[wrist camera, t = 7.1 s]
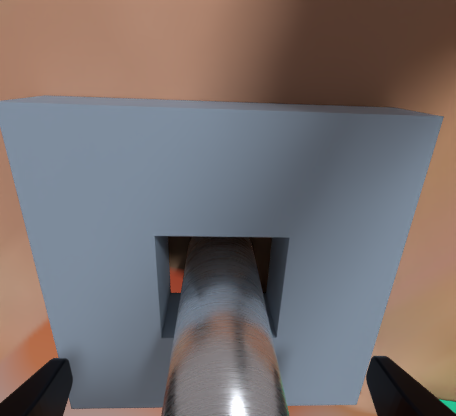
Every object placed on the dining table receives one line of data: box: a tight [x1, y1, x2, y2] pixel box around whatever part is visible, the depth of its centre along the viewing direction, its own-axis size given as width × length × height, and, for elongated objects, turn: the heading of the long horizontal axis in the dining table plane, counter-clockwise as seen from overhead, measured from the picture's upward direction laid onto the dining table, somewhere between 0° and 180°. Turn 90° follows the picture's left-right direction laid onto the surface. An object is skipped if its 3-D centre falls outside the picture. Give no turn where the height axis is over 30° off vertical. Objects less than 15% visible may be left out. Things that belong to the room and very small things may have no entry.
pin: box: [162, 236, 289, 416], centre depth 11 cm, size 3×3×10 cm
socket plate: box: [0, 96, 443, 409], centre depth 14 cm, size 14×14×3 cm
